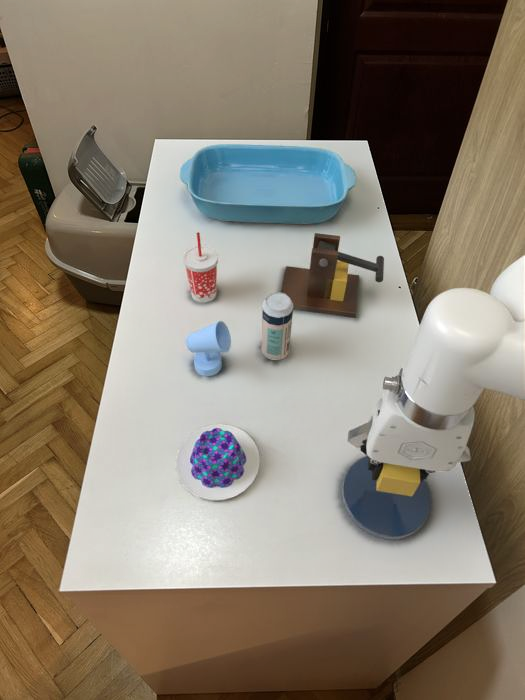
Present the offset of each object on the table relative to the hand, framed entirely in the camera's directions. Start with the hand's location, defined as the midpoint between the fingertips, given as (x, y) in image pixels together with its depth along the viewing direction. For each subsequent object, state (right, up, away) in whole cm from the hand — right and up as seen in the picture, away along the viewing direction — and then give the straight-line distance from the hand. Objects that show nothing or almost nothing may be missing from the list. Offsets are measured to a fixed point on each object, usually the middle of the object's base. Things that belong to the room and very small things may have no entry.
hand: (395, 472), depth 68 cm
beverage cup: (-28, +26, +30) cm, 49 cm away
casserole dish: (-16, +48, +48) cm, 70 cm away
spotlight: (-26, +13, +20) cm, 35 cm away
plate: (0, -5, +6) cm, 7 cm away
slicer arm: (-2, +31, +24) cm, 39 cm away
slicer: (-6, +26, +31) cm, 41 cm away
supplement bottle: (-15, +15, +22) cm, 31 cm away
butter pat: (0, 0, 0) cm, 0 cm away
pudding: (-23, -1, +9) cm, 25 cm away
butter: (-4, +27, +29) cm, 40 cm away
